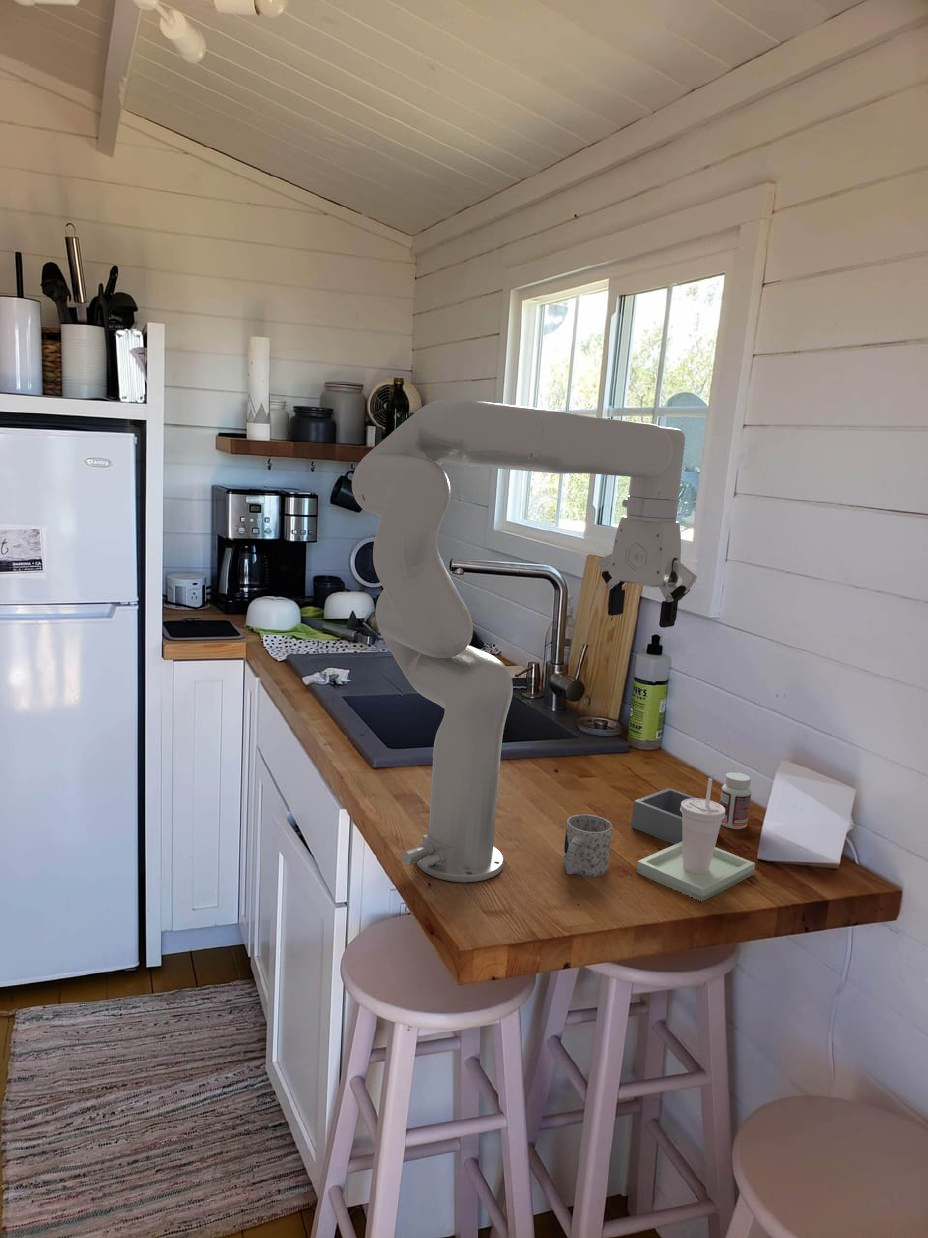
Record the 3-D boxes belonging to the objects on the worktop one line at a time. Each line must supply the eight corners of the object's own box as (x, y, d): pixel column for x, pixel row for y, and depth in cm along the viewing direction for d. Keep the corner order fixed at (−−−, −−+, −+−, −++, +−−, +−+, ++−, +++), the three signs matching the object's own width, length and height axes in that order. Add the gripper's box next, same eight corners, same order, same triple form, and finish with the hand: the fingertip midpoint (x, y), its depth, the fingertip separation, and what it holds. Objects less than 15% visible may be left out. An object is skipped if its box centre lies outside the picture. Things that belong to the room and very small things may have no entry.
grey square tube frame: (683, 848, 149) (686, 821, 148) (631, 826, 156) (633, 800, 155) (717, 833, 156) (721, 807, 155) (666, 812, 163) (669, 787, 162)
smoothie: (707, 883, 136) (719, 789, 133) (665, 868, 140) (676, 777, 137) (724, 868, 141) (736, 778, 138) (684, 854, 145) (695, 766, 142)
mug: (573, 852, 145) (577, 810, 144) (615, 864, 142) (619, 822, 141) (545, 876, 137) (549, 832, 135) (588, 890, 134) (592, 845, 132)
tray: (701, 902, 132) (703, 890, 132) (636, 872, 140) (637, 861, 139) (753, 874, 142) (755, 863, 141) (689, 848, 149) (691, 837, 149)
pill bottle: (749, 822, 161) (755, 775, 160) (744, 832, 157) (750, 783, 155) (720, 816, 163) (726, 769, 162) (715, 825, 159) (721, 777, 157)
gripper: (591, 504, 149) (581, 612, 152) (687, 516, 137) (673, 634, 140) (620, 503, 154) (610, 608, 157) (715, 515, 142) (702, 629, 145)
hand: (640, 620), depth 149 cm, fingers open, 9 cm apart
